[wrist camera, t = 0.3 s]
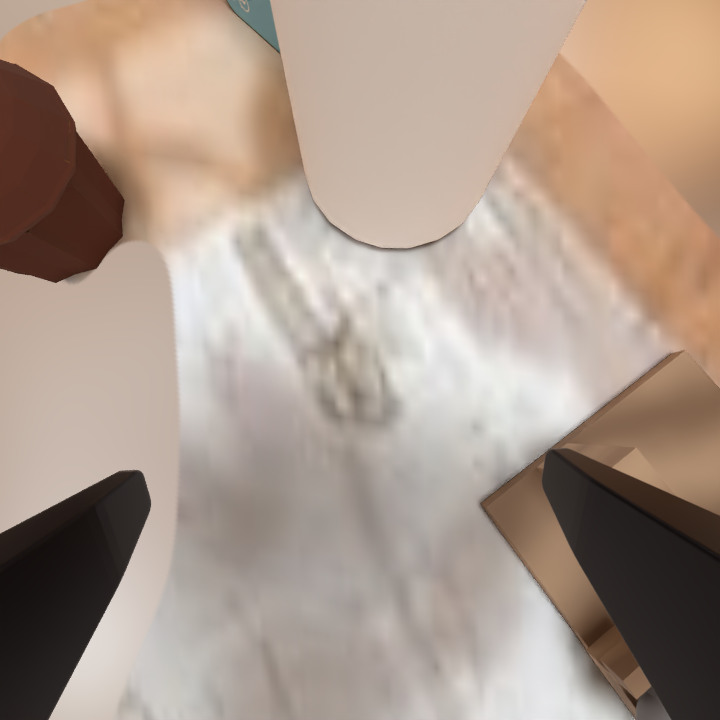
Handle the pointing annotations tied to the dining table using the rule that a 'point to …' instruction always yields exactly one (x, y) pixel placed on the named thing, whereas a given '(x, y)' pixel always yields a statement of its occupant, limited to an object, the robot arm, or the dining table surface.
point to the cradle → (633, 457)
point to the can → (411, 103)
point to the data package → (257, 18)
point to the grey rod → (650, 707)
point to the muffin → (49, 185)
